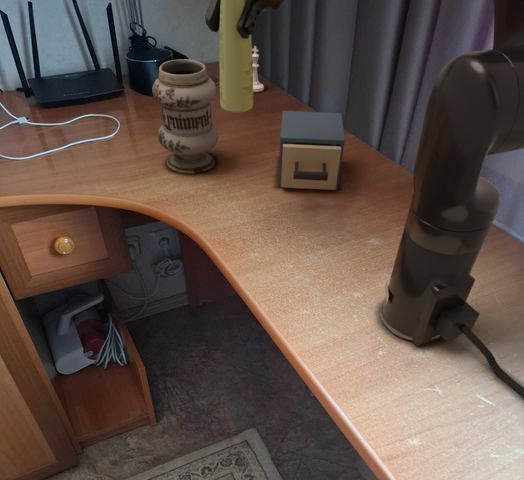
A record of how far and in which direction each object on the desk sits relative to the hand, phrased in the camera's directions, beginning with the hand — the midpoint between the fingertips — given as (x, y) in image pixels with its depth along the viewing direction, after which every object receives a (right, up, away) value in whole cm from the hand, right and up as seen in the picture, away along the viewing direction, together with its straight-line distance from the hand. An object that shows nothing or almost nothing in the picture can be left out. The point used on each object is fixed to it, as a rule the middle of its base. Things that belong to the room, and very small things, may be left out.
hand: (226, 30), depth 61 cm
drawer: (+14, -8, +31) cm, 35 cm away
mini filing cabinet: (+14, -6, +35) cm, 38 cm away
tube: (+1, -6, +9) cm, 10 cm away
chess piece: (+3, +30, +67) cm, 73 cm away
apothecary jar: (-10, -3, +37) cm, 38 cm away
